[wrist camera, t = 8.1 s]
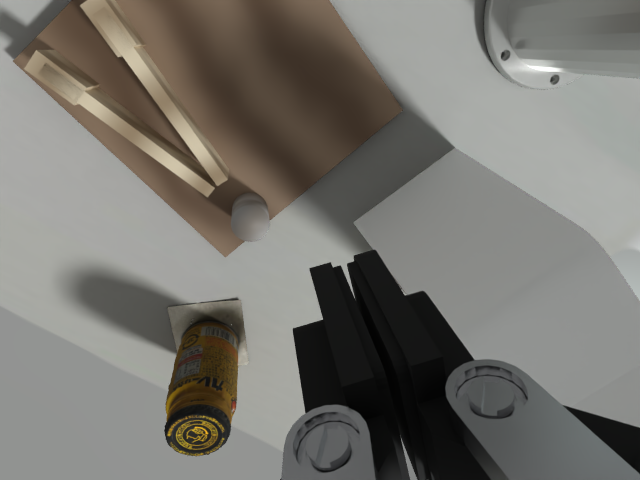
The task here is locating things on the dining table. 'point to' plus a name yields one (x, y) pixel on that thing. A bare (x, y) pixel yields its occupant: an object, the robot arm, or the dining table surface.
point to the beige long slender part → (144, 137)
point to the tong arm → (153, 81)
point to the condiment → (204, 375)
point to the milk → (515, 282)
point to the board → (232, 95)
